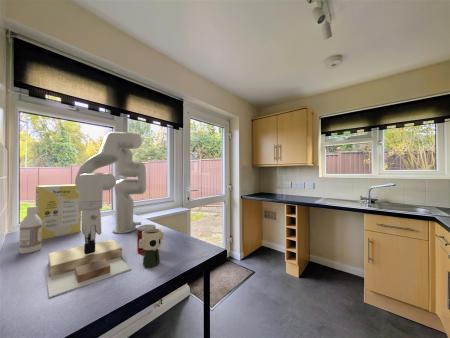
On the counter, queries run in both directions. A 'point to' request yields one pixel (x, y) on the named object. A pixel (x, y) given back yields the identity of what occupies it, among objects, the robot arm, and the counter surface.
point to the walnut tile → (92, 270)
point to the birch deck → (82, 257)
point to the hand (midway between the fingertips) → (89, 252)
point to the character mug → (151, 246)
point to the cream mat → (69, 281)
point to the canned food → (140, 230)
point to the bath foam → (30, 232)
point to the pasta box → (58, 210)
